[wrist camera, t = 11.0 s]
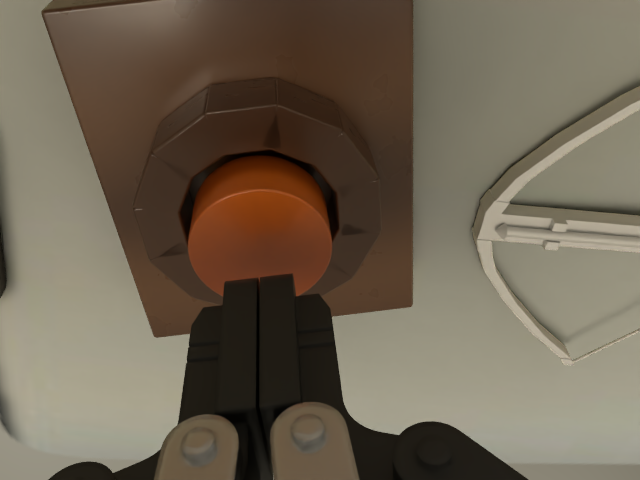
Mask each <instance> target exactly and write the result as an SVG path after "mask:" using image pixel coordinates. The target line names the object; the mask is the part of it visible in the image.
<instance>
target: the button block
mask: <svg viewBox="0 0 640 480" xmlns="http://www.w3.org/2000/svg"><path fill="white" fill-rule="evenodd" d="M42 17H43V20H44V22H45V25H46V28H47V31H48V34H49V37H50V40H51V43H52V45H53V48H54V51H55V54H56V57H57V60H58V63H59V66H60V68H61V71H62V74H63V77H64V80H65V83H66V86H67V88H68V91H69V94H70V97H71V100H72V103H73V106H74V109H75V111H76V114H77V117H78V120H79V123H80V126H81V129H82V131H83V134H84V137H85V140H86V143H87V146H88V149H89V152H90V154H91V157H92V160H93V163H94V166H95V169H96V172H97V174H98V177H99V180H100V183H101V186H102V189H103V192H104V195H105V197H106V200H107V203H108V206H109V209H110V212H111V215H112V218H113V220H114V223H115V226H116V229H117V232H118V235H119V238H120V240H121V243H122V246H123V249H124V252H125V255H126V258H127V261H128V263H129V266H130V269H131V272H132V275H133V278H134V281H135V283H136V286H137V289H138V292H139V295H140V298H141V301H142V304H143V306H144V309H145V312H146V315H147V318H148V321H149V324H150V326H151V329H152V332H153V335H154V337H156V338H158V337H166V336H174V335H182V334H190V333H191V325H192V324H193V322H194V321H195V319H196V318H197V316H198V315H199V313H200V312H201V310H202V309H203V307H211V306H219V305H223V296H221V295H219V294H218V293H216V292H214V291H213V290H211V289H210V288H209V287H208V286H206V285H205V284H204V283H203V282H202V281H201V279H200V278H199V277H198V275H197V274H196V272H195V271H194V269H193V267H192V265H191V262H190V259H189V254H188V238H189V232H190V226H191V220H192V214H193V208H194V201H195V198H196V195H197V192H198V190H199V188H200V186H201V185H202V183H203V182H204V180H205V179H206V178H207V177H208V176H209V175H210V174H211V173H212V172H213V171H214V170H216V169H217V168H219V167H220V166H222V165H224V164H225V163H227V162H230V161H232V160H235V159H238V158H241V157H247V156H255V155H264V156H273V157H278V158H282V159H285V160H288V161H290V162H292V163H295V164H296V165H298V166H300V167H301V168H303V169H304V170H305V171H307V172H308V173H309V174H310V175H311V176H312V177H313V178H314V179H315V180H316V182H317V183H318V185H319V186H320V188H321V190H322V192H323V194H324V197H325V201H326V207H327V213H328V219H329V225H330V231H331V237H332V255H331V259H330V262H329V265H328V267H327V269H326V271H325V272H324V274H323V275H322V277H321V278H320V279H319V280H318V281H317V283H316V284H315V285H313V286H312V287H311V288H310V289H309V290H307V291H306V292H304V293H303V294H301V295H299V296H302V295H310V294H318V293H319V294H320V296H321V297H322V298H323V300H324V301H325V302H326V303H327V305H328V306H329V307H330V309H331V317H332V316H340V315H348V314H357V313H365V312H373V311H381V310H390V309H398V308H406V307H411V306H412V305H413V0H53V1H52V2H50V3H49V4H48V5H47V6H46V7H45V8H44V9H43V10H42Z"/></svg>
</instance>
